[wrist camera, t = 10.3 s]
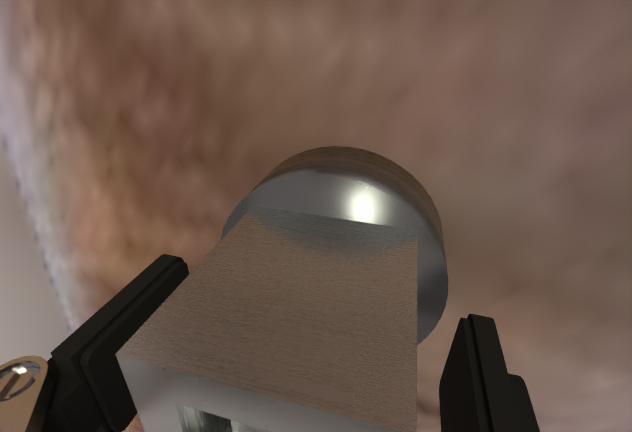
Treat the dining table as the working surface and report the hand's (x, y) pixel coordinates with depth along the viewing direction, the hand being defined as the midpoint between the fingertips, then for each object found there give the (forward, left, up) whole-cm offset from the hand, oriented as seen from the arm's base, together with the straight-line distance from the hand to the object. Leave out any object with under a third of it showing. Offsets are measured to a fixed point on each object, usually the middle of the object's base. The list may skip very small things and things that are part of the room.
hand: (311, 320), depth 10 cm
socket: (0, 0, -2) cm, 2 cm away
